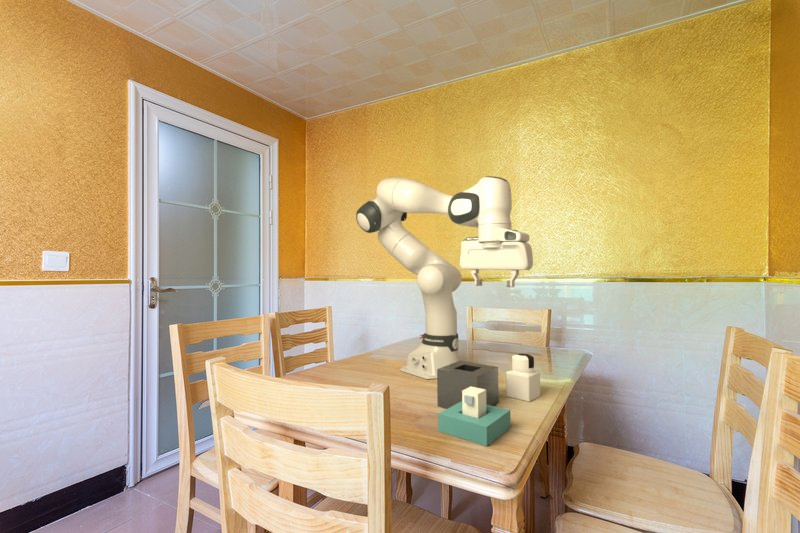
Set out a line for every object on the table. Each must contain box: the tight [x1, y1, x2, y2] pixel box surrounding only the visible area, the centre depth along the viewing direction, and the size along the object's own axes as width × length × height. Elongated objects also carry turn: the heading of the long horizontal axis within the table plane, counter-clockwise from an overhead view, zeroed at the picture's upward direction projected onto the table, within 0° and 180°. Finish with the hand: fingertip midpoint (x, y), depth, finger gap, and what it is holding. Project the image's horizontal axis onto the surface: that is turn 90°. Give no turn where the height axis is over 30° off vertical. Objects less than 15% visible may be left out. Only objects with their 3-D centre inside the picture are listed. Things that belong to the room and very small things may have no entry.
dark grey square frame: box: [436, 360, 500, 410], centre depth 103 cm, size 12×12×10 cm
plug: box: [462, 387, 486, 418], centre depth 87 cm, size 4×5×9 cm
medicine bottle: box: [505, 353, 541, 402], centre depth 109 cm, size 7×7×12 cm
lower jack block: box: [437, 401, 511, 447], centre depth 87 cm, size 12×12×4 cm
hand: (494, 286), depth 103 cm, fingers open, 8 cm apart
